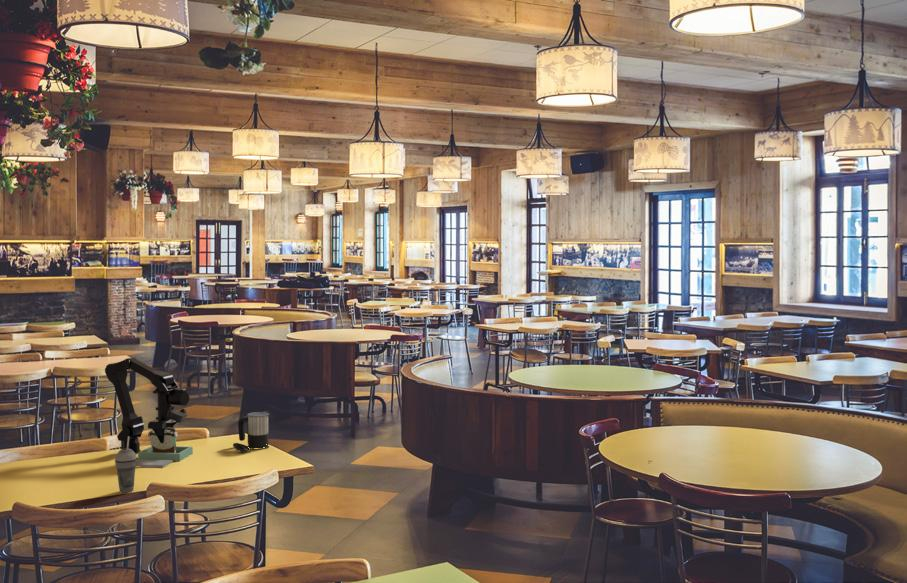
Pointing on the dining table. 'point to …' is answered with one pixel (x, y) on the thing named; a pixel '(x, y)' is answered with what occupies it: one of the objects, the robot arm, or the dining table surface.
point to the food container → (169, 441)
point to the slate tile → (152, 463)
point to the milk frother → (253, 431)
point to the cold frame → (166, 454)
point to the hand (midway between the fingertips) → (165, 441)
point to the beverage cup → (126, 469)
